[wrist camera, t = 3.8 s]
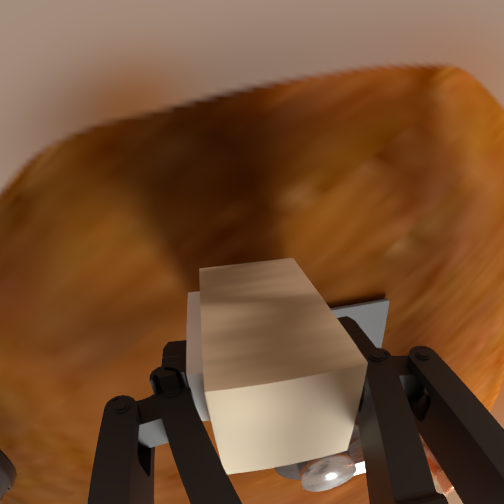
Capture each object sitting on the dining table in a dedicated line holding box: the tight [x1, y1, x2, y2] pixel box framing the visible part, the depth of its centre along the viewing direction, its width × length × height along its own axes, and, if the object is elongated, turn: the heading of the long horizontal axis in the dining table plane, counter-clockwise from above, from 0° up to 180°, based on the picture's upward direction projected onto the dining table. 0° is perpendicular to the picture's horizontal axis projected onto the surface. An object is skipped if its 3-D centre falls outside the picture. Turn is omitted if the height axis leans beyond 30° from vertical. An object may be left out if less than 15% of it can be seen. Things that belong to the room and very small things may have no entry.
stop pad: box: [330, 298, 389, 348], centre depth 23 cm, size 9×9×1 cm
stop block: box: [199, 258, 368, 474], centre depth 14 cm, size 5×5×9 cm
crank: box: [297, 434, 455, 494], centre depth 22 cm, size 15×5×8 cm, turn 93°
